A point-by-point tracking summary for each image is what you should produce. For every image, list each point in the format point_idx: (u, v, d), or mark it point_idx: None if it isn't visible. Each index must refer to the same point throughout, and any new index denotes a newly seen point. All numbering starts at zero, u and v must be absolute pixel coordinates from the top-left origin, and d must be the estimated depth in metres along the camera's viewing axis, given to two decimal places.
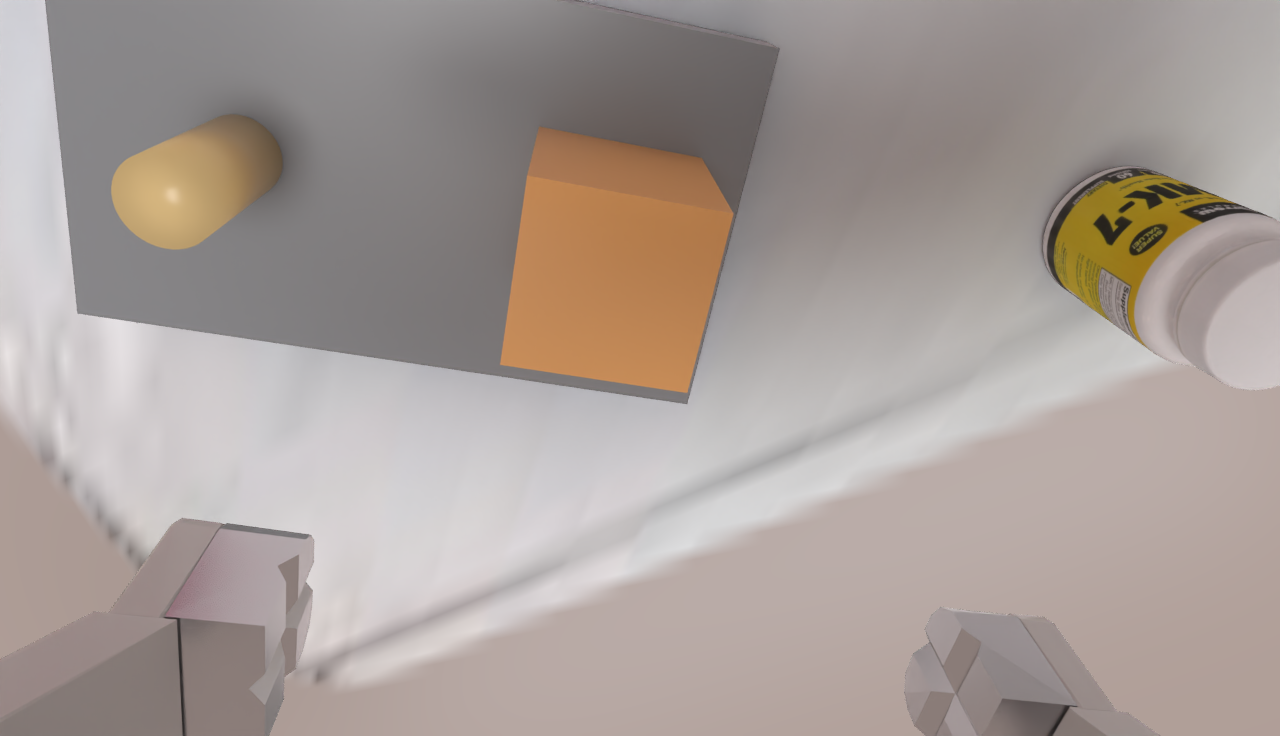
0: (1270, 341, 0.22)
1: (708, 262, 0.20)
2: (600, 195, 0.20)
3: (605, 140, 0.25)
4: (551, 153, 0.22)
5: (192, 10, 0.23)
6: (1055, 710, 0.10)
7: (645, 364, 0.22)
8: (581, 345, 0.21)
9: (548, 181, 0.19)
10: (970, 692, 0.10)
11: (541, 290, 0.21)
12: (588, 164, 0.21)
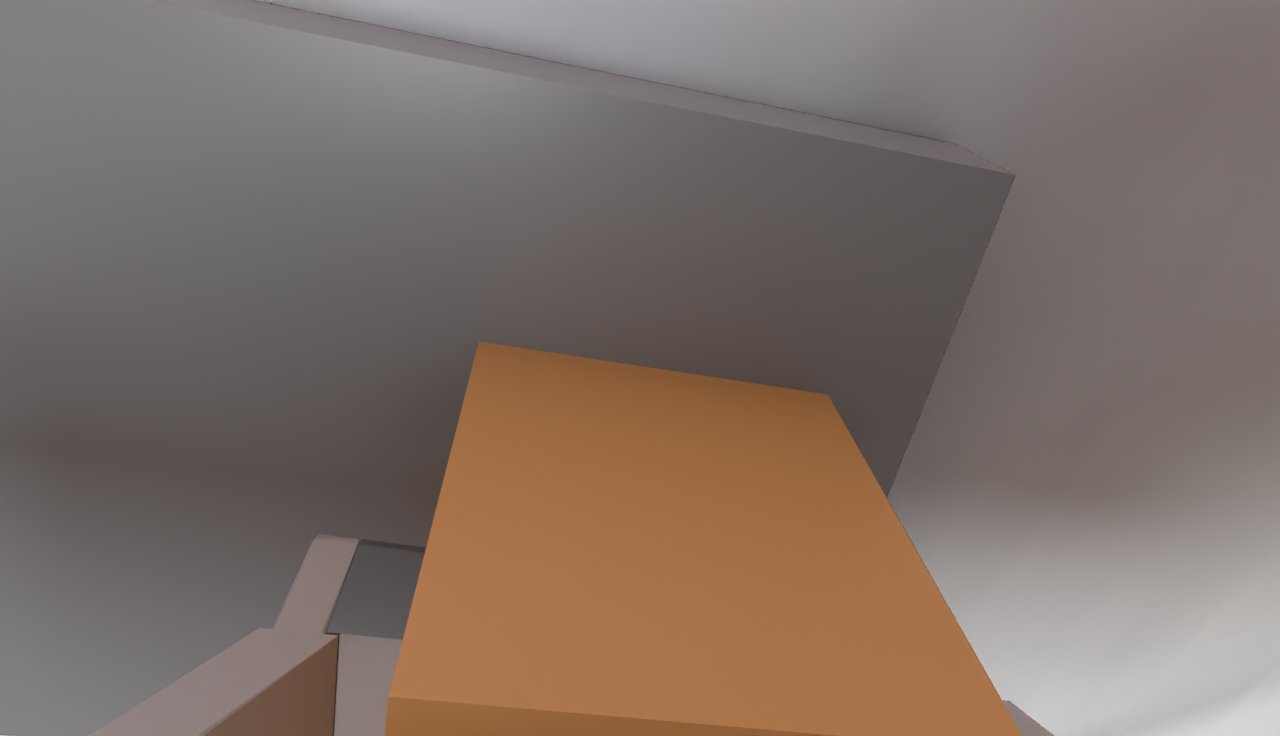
0: None
1: None
2: (628, 728, 0.06)
3: (624, 369, 0.11)
4: (492, 482, 0.08)
5: None
6: None
7: None
8: None
9: (460, 707, 0.06)
10: None
11: None
12: (588, 523, 0.08)
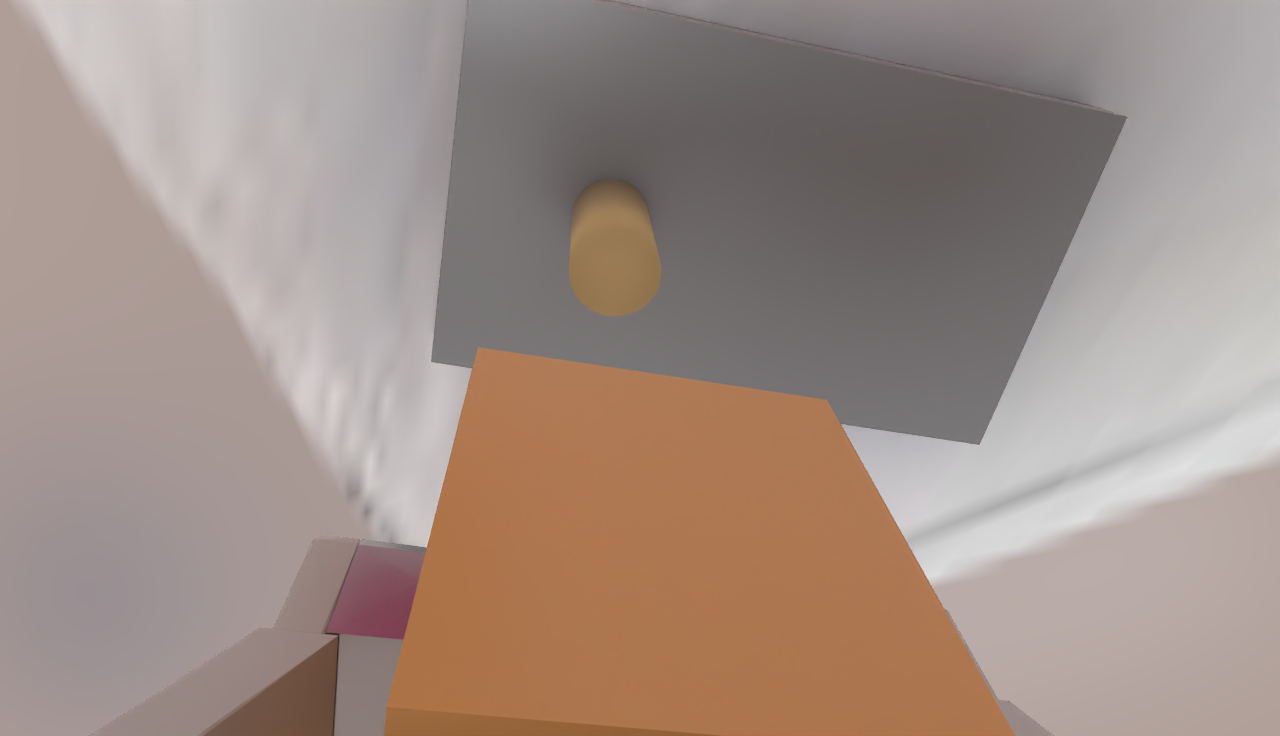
0: None
1: None
2: None
3: (624, 375, 0.11)
4: (491, 489, 0.08)
5: (593, 85, 0.24)
6: None
7: None
8: None
9: (458, 717, 0.06)
10: None
11: None
12: (587, 530, 0.08)
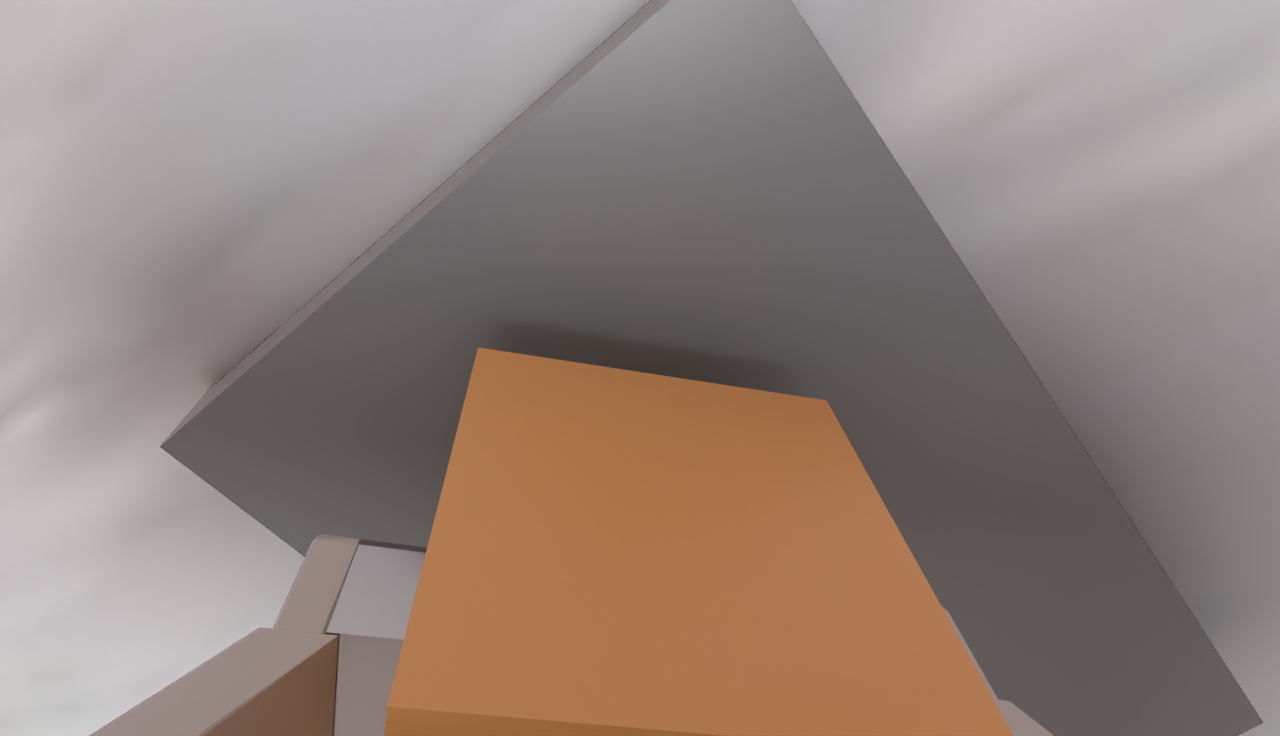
0: None
1: None
2: None
3: (623, 375, 0.11)
4: (491, 489, 0.08)
5: (772, 250, 0.13)
6: None
7: None
8: None
9: (459, 716, 0.06)
10: None
11: None
12: (587, 530, 0.08)
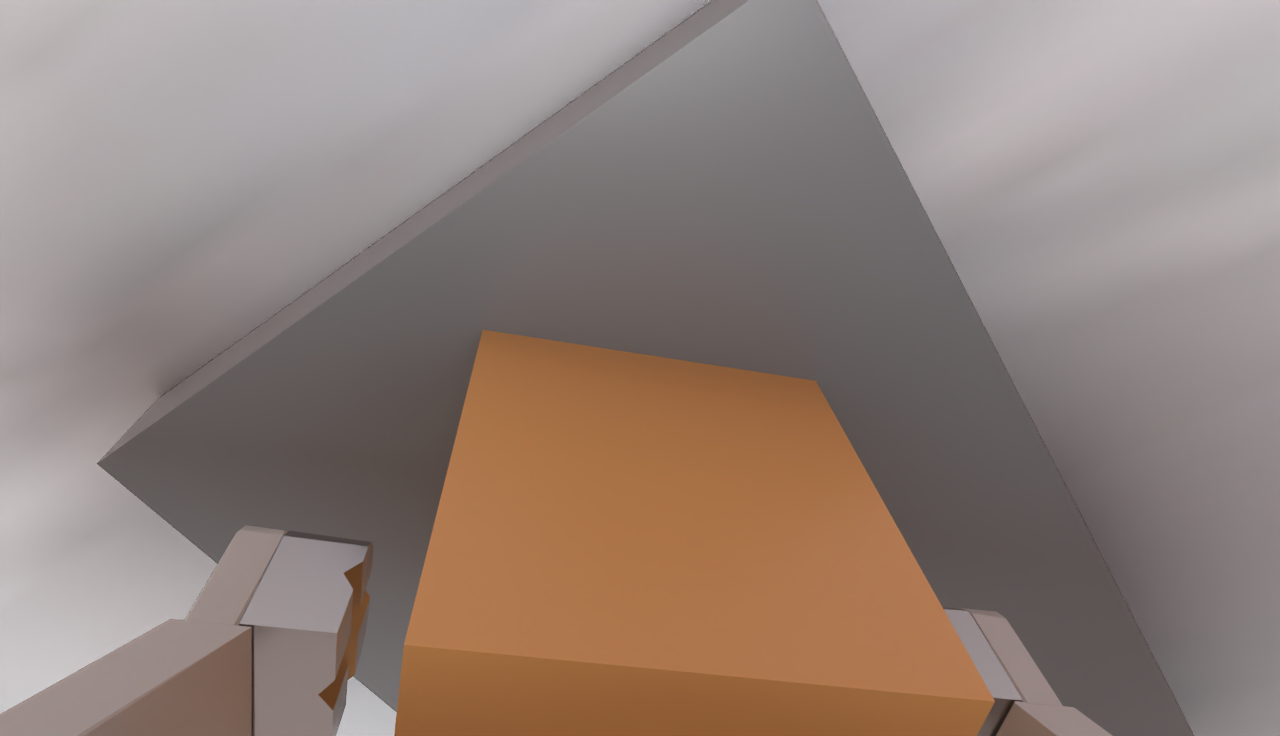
0: None
1: None
2: (623, 676, 0.07)
3: (621, 356, 0.12)
4: (497, 458, 0.09)
5: (790, 303, 0.12)
6: (1000, 705, 0.09)
7: None
8: None
9: (469, 655, 0.06)
10: None
11: None
12: (587, 495, 0.09)
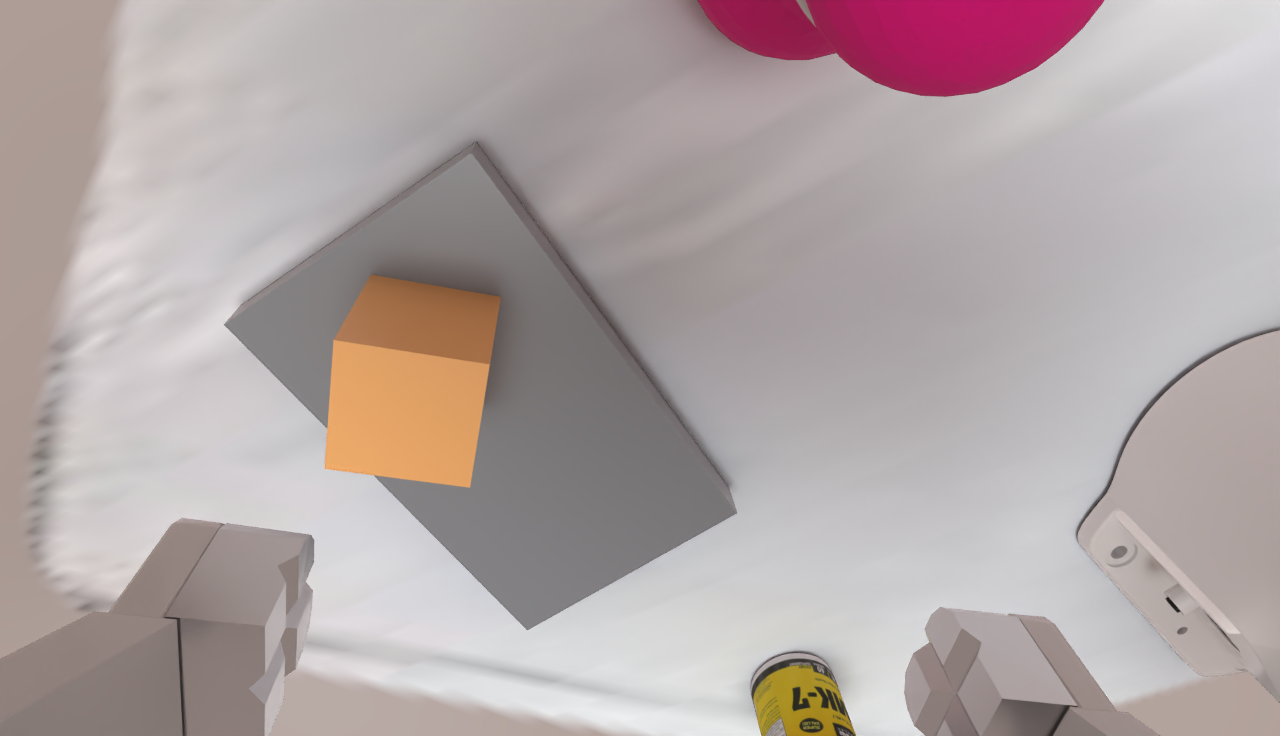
0: None
1: (475, 397, 0.28)
2: (389, 352, 0.27)
3: (423, 285, 0.32)
4: (366, 309, 0.29)
5: (486, 266, 0.32)
6: (1055, 710, 0.10)
7: (435, 467, 0.29)
8: (385, 454, 0.29)
9: (349, 343, 0.27)
10: (970, 692, 0.10)
11: (351, 417, 0.28)
12: (392, 319, 0.29)
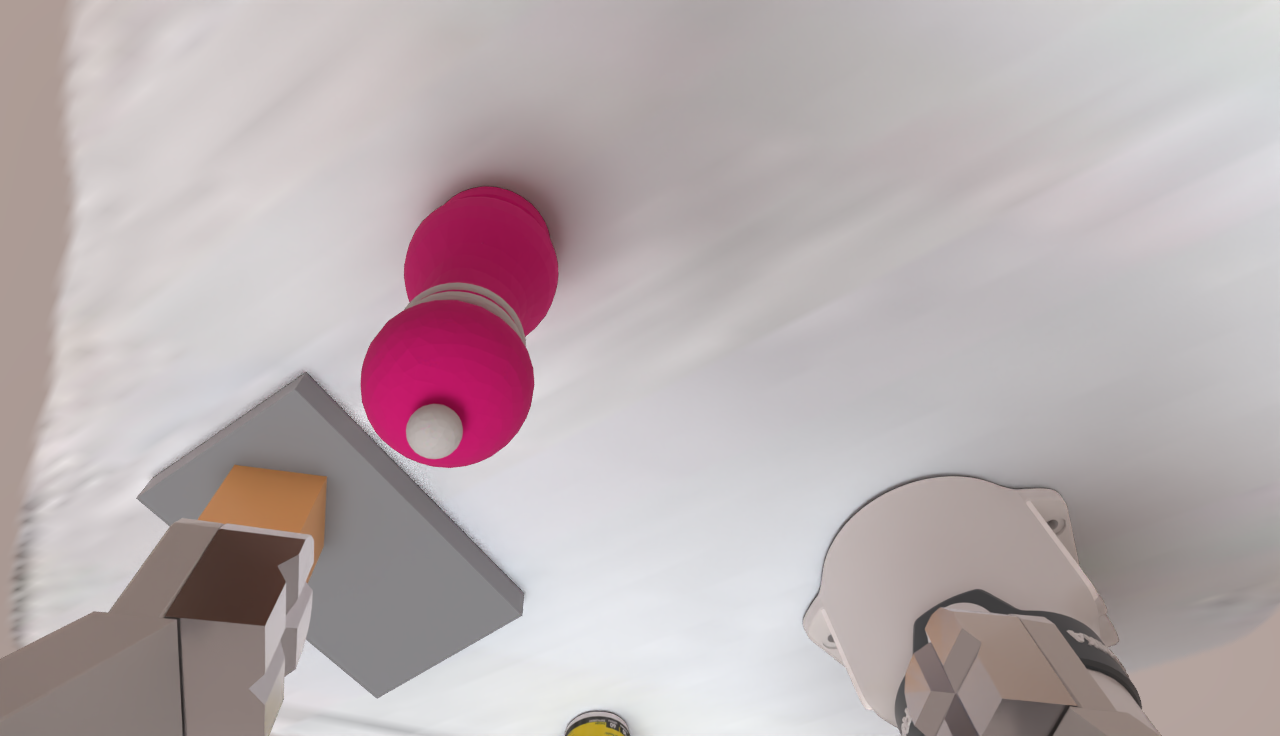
0: None
1: None
2: None
3: (270, 471, 0.46)
4: (221, 500, 0.43)
5: (314, 457, 0.46)
6: (1055, 710, 0.10)
7: None
8: None
9: None
10: (970, 692, 0.10)
11: None
12: (237, 507, 0.43)
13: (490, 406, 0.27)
